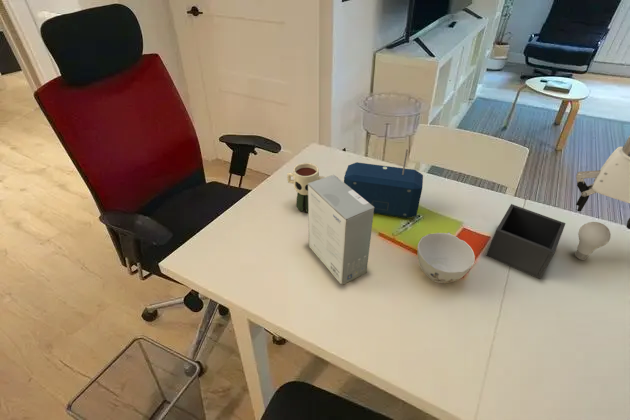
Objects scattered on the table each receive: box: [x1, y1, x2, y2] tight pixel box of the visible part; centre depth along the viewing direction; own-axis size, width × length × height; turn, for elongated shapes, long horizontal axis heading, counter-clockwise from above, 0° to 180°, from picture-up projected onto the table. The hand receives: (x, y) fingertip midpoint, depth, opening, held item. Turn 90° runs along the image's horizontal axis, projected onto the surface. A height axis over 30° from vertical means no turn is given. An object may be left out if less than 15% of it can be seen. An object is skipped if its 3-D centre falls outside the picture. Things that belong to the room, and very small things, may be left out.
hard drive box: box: [307, 174, 375, 285], centre depth 87 cm, size 16×8×20 cm, turn 32°
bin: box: [485, 203, 566, 280], centre depth 92 cm, size 13×13×9 cm
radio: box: [343, 149, 424, 219], centre depth 103 cm, size 21×9×20 cm, turn 76°
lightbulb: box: [574, 221, 612, 261], centre depth 89 cm, size 6×6×11 cm
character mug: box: [286, 162, 326, 213], centre depth 105 cm, size 11×7×13 cm, turn 78°
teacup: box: [416, 231, 476, 284], centre depth 87 cm, size 15×12×8 cm
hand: (603, 216), depth 84 cm, fingers open, 9 cm apart
